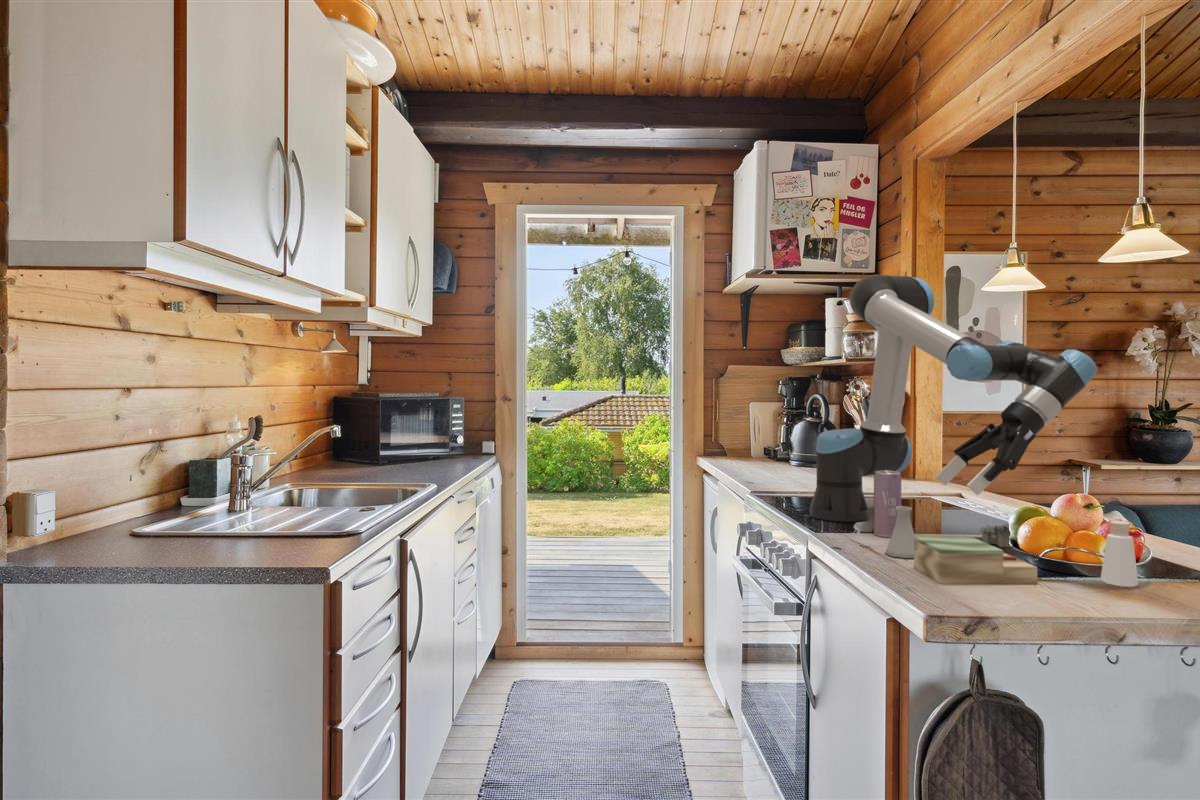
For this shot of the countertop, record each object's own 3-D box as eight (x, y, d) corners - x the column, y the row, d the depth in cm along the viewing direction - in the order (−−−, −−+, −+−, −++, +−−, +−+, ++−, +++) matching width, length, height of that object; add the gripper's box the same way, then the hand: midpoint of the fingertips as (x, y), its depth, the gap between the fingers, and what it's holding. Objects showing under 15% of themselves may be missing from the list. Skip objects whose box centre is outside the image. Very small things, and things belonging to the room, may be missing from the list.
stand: (914, 567, 135) (914, 536, 135) (1002, 567, 134) (1003, 536, 134) (940, 583, 124) (940, 550, 124) (1037, 584, 123) (1037, 550, 123)
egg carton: (1005, 549, 151) (1005, 530, 150) (975, 542, 158) (975, 524, 157) (1039, 544, 155) (1039, 526, 154) (1008, 538, 162) (1008, 520, 161)
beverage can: (898, 533, 166) (898, 470, 165) (903, 538, 160) (903, 473, 160) (871, 532, 167) (872, 470, 167) (875, 537, 161) (876, 473, 161)
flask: (926, 560, 140) (926, 511, 140) (888, 558, 142) (888, 510, 142) (917, 552, 147) (917, 505, 147) (881, 550, 149) (881, 504, 149)
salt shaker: (1120, 588, 121) (1121, 525, 120) (1092, 579, 126) (1093, 519, 126) (1146, 586, 122) (1147, 523, 122) (1117, 577, 127) (1118, 518, 127)
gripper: (1082, 429, 131) (1001, 508, 132) (1008, 422, 156) (940, 489, 156) (1054, 401, 131) (973, 480, 132) (984, 398, 156) (916, 465, 156)
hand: (955, 485), depth 144 cm, fingers open, 13 cm apart
